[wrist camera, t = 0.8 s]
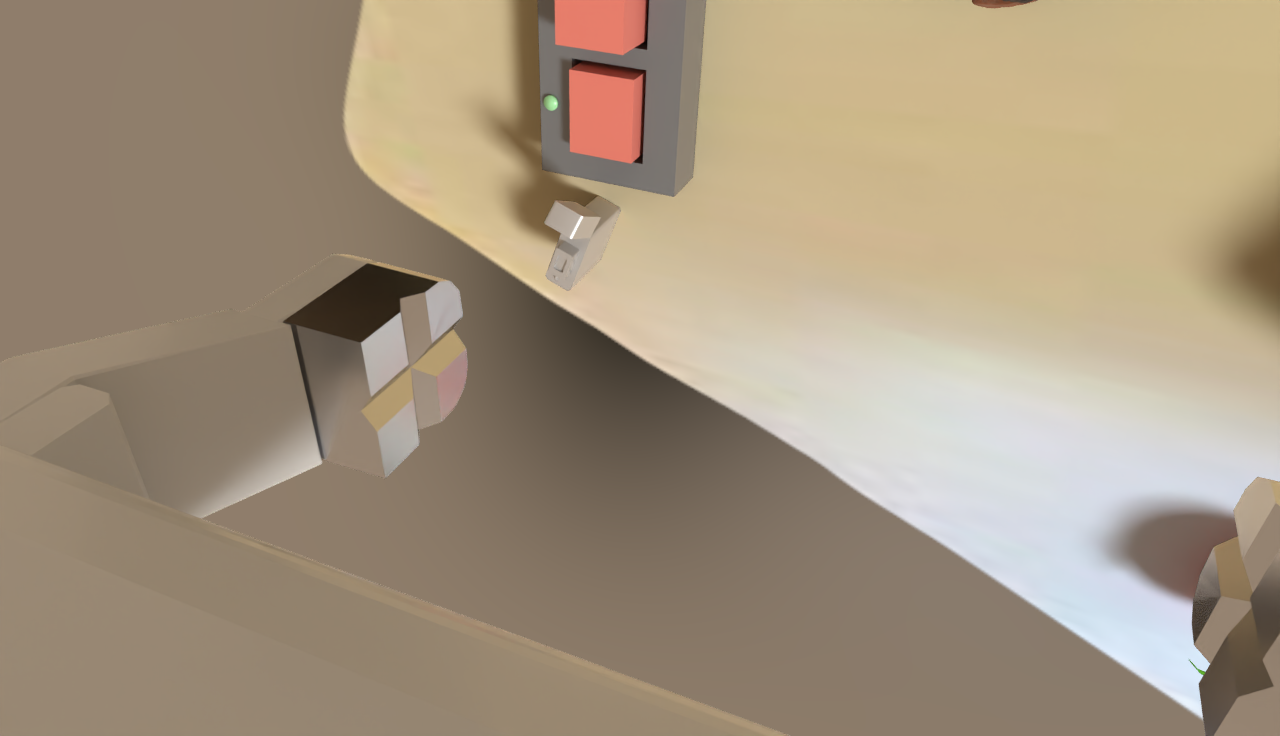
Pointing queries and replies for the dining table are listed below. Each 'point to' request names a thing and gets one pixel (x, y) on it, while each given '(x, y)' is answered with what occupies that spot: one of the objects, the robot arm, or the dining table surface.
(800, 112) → the dining table surface
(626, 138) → the button
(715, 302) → the dining table surface
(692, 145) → the power strip
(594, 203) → the lighter
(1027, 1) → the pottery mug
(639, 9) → the button
